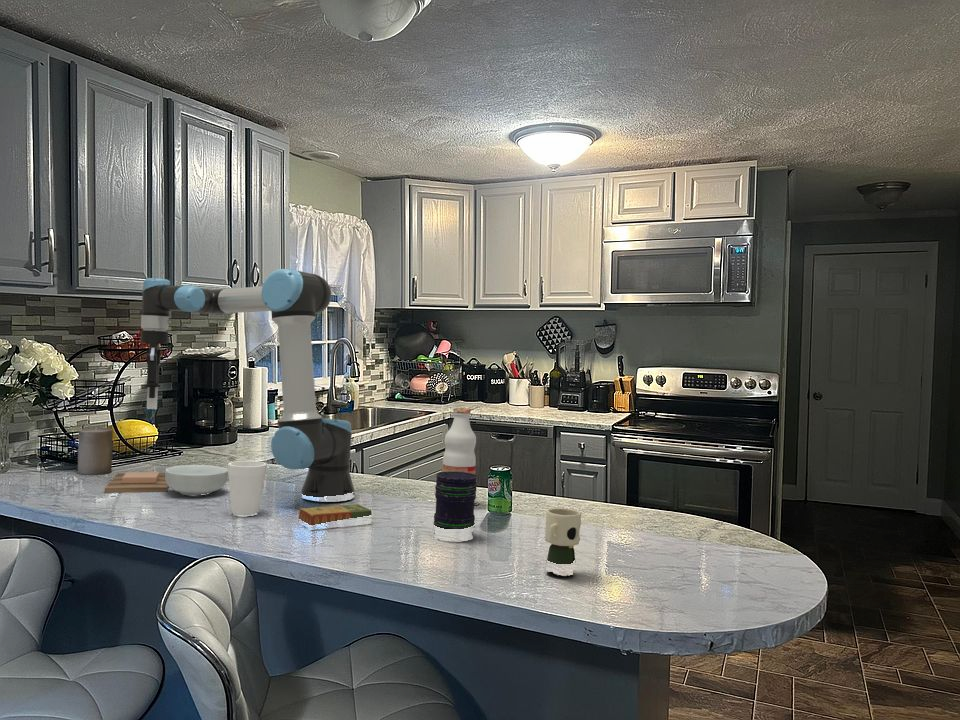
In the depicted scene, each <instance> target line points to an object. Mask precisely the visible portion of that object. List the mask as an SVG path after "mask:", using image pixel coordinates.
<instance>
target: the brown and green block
mask: <svg viewBox="0 0 960 720" xmlns="http://www.w3.org/2000/svg"><path fill="white" fill-rule="evenodd" d="M298 512H299V513H298V520H299V519H301V520H302V521H304V522H306V523H308V524H309V525H315V524H321V523H326V522H331V521H337V520H343V519H349V518H357V517H363V516H369V515H372V510H371V509H370V508H367V507H365V506H363V505H360V504H358V503H357V504H356V503H355V504H343V505H341V504H340V505H330V506H327V505H326V506H316V507H304V508H302V507H301V508H299V511H298ZM372 516H373V515H372Z"/></svg>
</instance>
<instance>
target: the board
mask: <svg viewBox="0 0 960 720" xmlns="http://www.w3.org/2000/svg"><path fill="white" fill-rule="evenodd" d="M125 474H126V472H117V474H116V475H115V476H114V478H112V479H111V480H110V482H109V483H108V484H107V485H106V487H104V493H111V494H112V493H165V492H166V493H167V492H168V490H169V488H170V487H169V486H168V484H167V483H166V479H165V472H159V478H158V480H157V482H156V483H147V484H123V483H122V477H123V476H124V475H125Z"/></svg>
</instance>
